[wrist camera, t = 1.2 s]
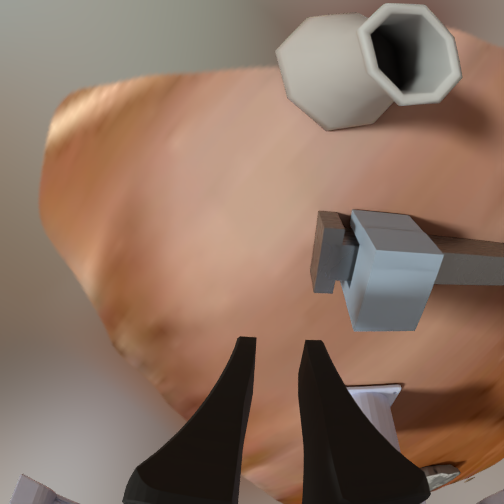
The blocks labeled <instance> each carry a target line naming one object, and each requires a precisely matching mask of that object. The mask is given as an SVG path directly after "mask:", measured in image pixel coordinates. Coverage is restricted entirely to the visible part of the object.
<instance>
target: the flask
mask: <svg viewBox="0 0 504 504" xmlns="http://www.w3.org/2000/svg"><path fill="white" fill-rule="evenodd" d="M275 53H276V57H277V60H278V64H279V68H280V71H281V75H282V79H283V83H284V87H285V90H286V94H287V98H288V99H289V100H290V101H291V102H293V103H294V104H295V105H296V106H297V107H299V108H300V109H301V110H302V111H303V112H305V113H306V114H307V115H308V116H309V117H310V118H312V119H313V120H314V121H315V122H316V123H317V124H318V125H320V126H321V127H322V128H323V129H324V130H325V131H330V130H336V129H342V128H349V127H355V126H362V125H369V124H373V123H374V122H375V121H376V120H377V119H378V118H379V117H380V116H381V115H382V114H383V113H384V112H385V111H386V110H387V108H388V107H389V106H390V105H391V104H392V103H393V102H395V103H396V104H397V105H398V106H406V105H418V104H433V103H440V102H441V101H442V100H443V99H444V98H445V96H446V95H447V94H448V93H449V92H450V91H451V90H452V89H453V88H454V87H455V85H456V84H457V83H458V82H459V81H460V80H461V79H462V72H461V66H460V61H459V56H458V51H457V47H456V42H455V38H454V36H453V35H452V34H451V33H450V32H449V31H448V29H447V28H446V27H445V26H444V25H443V24H442V23H441V22H440V20H439V19H438V18H437V17H436V16H435V15H434V14H433V13H432V12H431V11H430V10H429V9H428V7H427V6H426V5H420V4H395V3H394V4H393V3H389V4H388V3H386V4H384V5H382V6H381V7H380V8H379V9H378V10H377V11H376V12H375V13H374V14H373V15H372V16H371V17H370V18H367V17H365V16H363V15H361V14H359V13H345V14H344V13H343V14H332V15H323V16H315V17H308V18H307V19H306V20H305V21H304V22H303V23H302V24H301V25H300V26H299V27H298V28H297V29H296V30H295V31H294V32H293V33H292V34H291V35H290V36H289V37H288V38H287V39H286V40H285V41H284V42H283V43H282V44H281V45H280V46H279V48H278V49H277V50H276V51H275Z"/></svg>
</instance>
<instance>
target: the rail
mask: <svg viewBox="0 0 504 504" xmlns="http://www.w3.org/2000/svg"><path fill="white" fill-rule="evenodd" d="M428 237H429V238H430V239H431V240H432V241H433V242H434V244H435V245H436V246H437V247H438V248H439V249H440V251H441V252H442V253H443V254H444V256H443V259H442V262H441V265H440V268H439V271H438V274H437V277H436V279H435V282H434V284H452V285H504V243H497V242H489V241H480V240H471V239H462V238H453V237H443V236H433V235H428ZM359 245H360V244H359V242H358V240H357V238H356V236H355V234H354V232H353V230H352V228H344V226H343V224H342V222H341V220H340V218H339V215H338V213H337V212H326V211H318V218H317V226H316V233H315V241H314V248H313V255H312V262H311V268H310V273H311V279H312V285H313V291H314V293H332V294H333V289H334V284H335V280H340V281H352V277H353V272H354V268H355V264H356V259H357V255H358V250H359Z"/></svg>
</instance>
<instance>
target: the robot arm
mask: <svg viewBox="0 0 504 504" xmlns="http://www.w3.org/2000/svg"><path fill="white" fill-rule="evenodd" d="M255 354H256V337H241V336H240V337H239V338H237V342H236V345H235V348H234V350H233V353H232V355H231V357H230V359H229V361H228V363H227V365H226V367H225V369H224V371H223V373H222V374H221V376H220V378H219V380H218V381H217V383H216V384H215V386H214V387H213V389H212V391H211V392H210V394H209V395H208V397H207V398H206V399H205V401H204V402H203V403H202V405H201V406H200V407H199V409H198V410H197V411H196V412H195V414H194V415H193V416H192V417H191V418H190V419H189V421H188V422H187V423H186V424H185V425H184V426H183V427H182V428H181V429H180V431H179V432H178V433H177V434H175V435H174V436H173V437H172V438H171V439H170V440H169V441H168V442H167V443H166V444H165V445H164V446H163V447H161V448H160V449H159V450H158V451H157V452H156V453H154V454H153V455H152V456H150V457H149V458H148V459H147V460H145V461H144V462H143V463H141V464H140V465H139V466H137V467H136V469H135V470H134V472H133V474H132V475H131V477H130V479H129V481H128V484H127V486H126V489H125V493H124V497H123V500H122V502H123V503H124V504H238V495H239V485H240V474H241V463H242V451H243V444H244V438H245V433H246V428H247V422H248V417H249V412H250V406H251V401H252V395H253V383H254V369H255ZM400 391H401V385H398V384H397V385H383V386H365V387H346V386H345V384H344V383H343V381H342V379H341V377H340V376H339V374H338V372H337V370H336V368H335V366H334V364H333V363H332V361H331V358H330V356H329V354H328V352H327V350H326V348H325V345H324V343H323V342H322V341H321V340H305V345H304V350H303V354H302V359H301V364H300V368H299V373H298V398H299V407H300V416H301V426H302V435H303V445H304V475H303V498H302V504H426V502H425V500H426V499H428V498H429V496H430V494H431V493H430V488H429V483H428V480H427V478H426V475H425V472H424V471H422V470H421V469H420V468H418V467H417V466H416V465H414V464H413V463H412V462H411V461H409V460H408V459H407V458H406V457H404V456H403V455H402V454H401V452H400V448H399V443H398V439H397V434H396V430H395V426H394V421H393V417H392V413H391V409H390V407H391V405H392V404H393V402H394V400H395V399H396V397H397V396H398V394H399V392H400ZM9 504H79V503H77V502H74V501H72V500H69V499H67V498H65V497H63V496H60V495H58V494H56V493H55V492H54V491H53V490H52V489H50V488H48V487H47V486H45V485H43V484H41V483H39V482H37V481H35V480H33V479H31V478H30V477H28V476H26V475H24V474H21V475H20V477H19V480H18V483H17V485H16V487H15V490H14V492H13V495H12V498H11V500H10V503H9ZM477 504H504V490H501V491H499V492H497V493H495V494H493V495H491V496H488V497H487V498H485V499H483V500H481V501H480V502H478V503H477Z"/></svg>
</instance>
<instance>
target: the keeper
mask: <svg viewBox="0 0 504 504" xmlns="http://www.w3.org/2000/svg"><path fill="white" fill-rule="evenodd" d="M350 226H351V228H352V230H353V232H354V234H355V236H356V238H357V240H358V242H359V244H360V245H359V250H358V255H357V259H356V264H355V268H354V272H353V277H352V281H340V283H341V286H342V289H343V293H344V296H345V300H346V305H347V308H348V312H349V315H350V319H351V323H352V327H353V330H354V331H415V329H416V327H417V325H418V322H419V320H420V318H421V315H422V313H423V310H424V308H425V305H426V303H427V301H428V298H429V295H430V293H431V290H432V288H433V285H434V282H435V279H436V277H437V274H438V271H439V268H440V265H441V262H442V259H443V256H444V254H443V253H442V252H441V251H440V249H439V248H438V247H437V246H436V245H435V244H434V242H433V241H432V240H431V239H430V238H429V237H428V235H427V234H426V233H424V232H423V231H422V230H421V229H420V227H419V226H418V225H417V224H416V223H415V222H414V221H413V220H412V219H411V217H410V216H409V215H401V214H392V213H382V212H372V211H362V210H352V214H351V220H350Z"/></svg>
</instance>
